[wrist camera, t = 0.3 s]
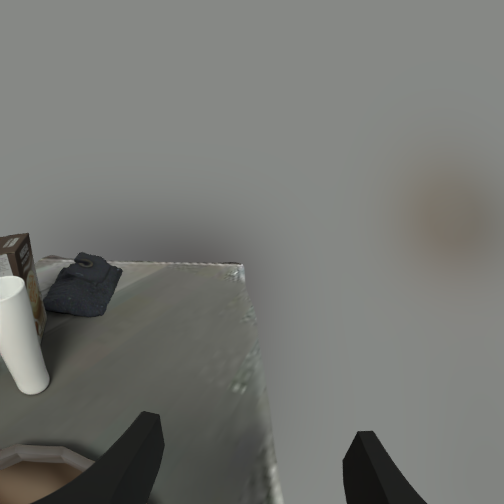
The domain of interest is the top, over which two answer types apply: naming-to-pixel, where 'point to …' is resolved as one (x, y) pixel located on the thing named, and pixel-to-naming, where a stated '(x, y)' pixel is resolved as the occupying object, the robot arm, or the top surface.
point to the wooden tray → (37, 471)
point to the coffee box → (23, 273)
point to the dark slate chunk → (83, 287)
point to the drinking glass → (20, 337)
